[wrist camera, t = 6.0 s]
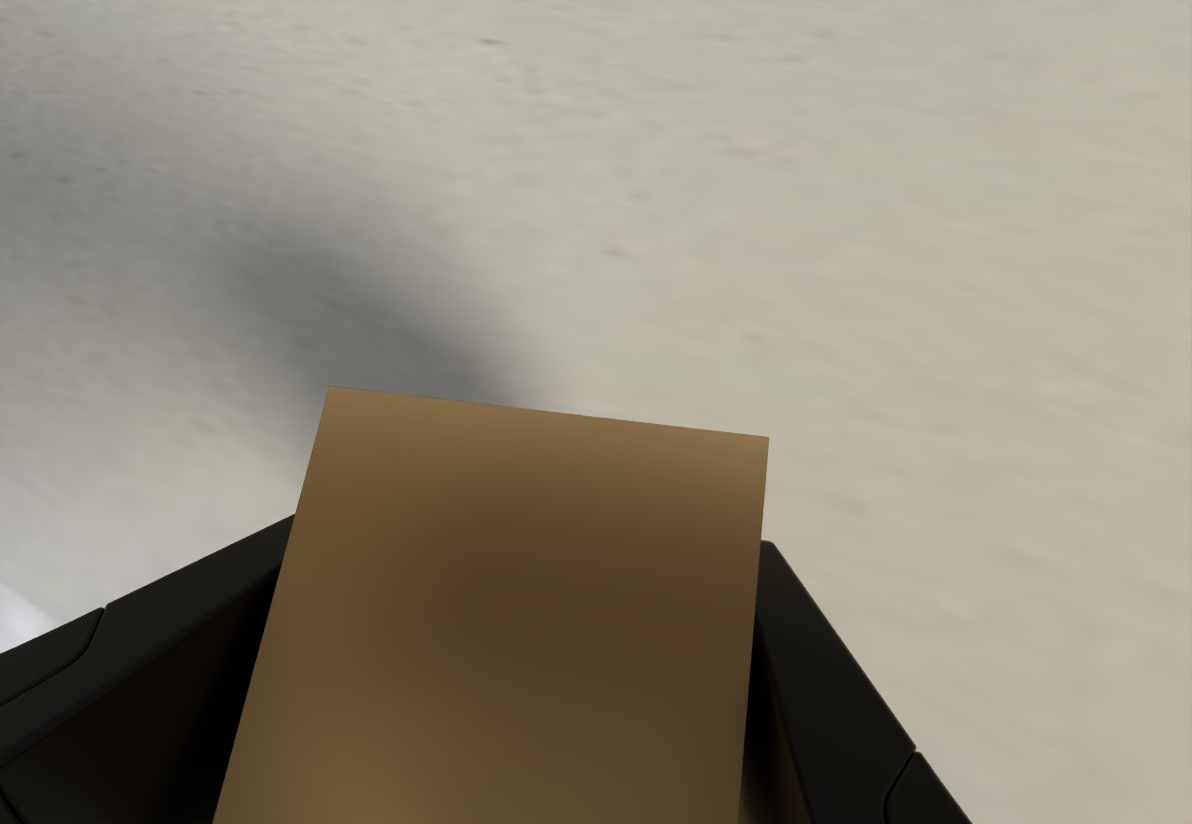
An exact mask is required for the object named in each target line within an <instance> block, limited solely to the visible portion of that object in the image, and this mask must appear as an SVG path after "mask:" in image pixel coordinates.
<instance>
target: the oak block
mask: <svg viewBox="0 0 1192 824" xmlns="http://www.w3.org/2000/svg"><path fill="white" fill-rule="evenodd" d="M768 446H769V437H763V436H755V435H746V434H738V433H729V432H720V431H712V430H703V429H695V428H686V427H677V426H669V425H660V424H651V423H643V422H634V421H626V420H617V419H608V418H600V417H591V416H583V415H574V414H565V413H557V412H548V411H540V410H531V409H522V408H514V407H505V406H496V405H488V404H479V403H471V402H462V401H453V400H445V399H436V398H428V397H419V396H410V395H402V394H393V393H385V392H376V391H367V390H359V389H350V388H342V387H333V386H329V390H328V394H327V397H326V401H325V405H324V409H323V412H322V416H321V420H320V424H319V427H318V431H317V435H316V439H315V442H314V446H313V450H312V454H311V457H310V461H309V465H308V468H307V472H306V476H305V480H304V483H303V487H302V491H301V495H300V498H299V502H298V506H297V510H296V513H295V517H294V521H293V525H292V528H291V532H290V536H289V540H288V543H287V547H286V551H285V554H284V558H283V562H282V566H281V569H280V573H279V577H278V581H277V584H276V588H275V592H274V596H273V599H272V603H271V607H270V611H269V614H268V618H267V622H266V626H265V629H264V633H263V637H262V640H261V644H260V648H259V652H258V655H257V659H256V663H255V667H254V670H253V674H252V678H251V682H250V685H249V689H248V693H247V697H246V700H245V704H244V708H243V712H242V715H241V719H240V723H239V726H238V730H237V734H236V738H235V741H234V745H233V749H232V753H231V756H230V760H229V764H228V768H227V771H226V775H225V779H224V783H223V786H222V790H221V794H220V798H219V801H218V805H217V809H216V812H215V816H214V820H213V824H737V823H738V811H739V799H740V787H741V774H742V762H743V750H744V738H745V726H746V714H747V702H748V689H749V677H750V665H751V653H752V641H753V628H754V616H755V604H756V592H757V580H758V568H759V555H760V543H761V531H762V519H763V507H764V495H765V482H766V470H767V458H768Z"/></svg>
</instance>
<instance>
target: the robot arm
mask: <svg viewBox="0 0 1192 824" xmlns="http://www.w3.org/2000/svg"><path fill="white" fill-rule="evenodd" d="M294 517H295V514H293V515H291V516H289V517H287V518H285V519H283V520H281V521H279V522H277V523H275V524H273V525H270V526H268V527H266V528H264V529H262V530H260V531H258V532H256V533H254V534H252V535H250V536H248V537H245V538H243V539H241V540H239V541H237V542H235V543H233V544H231V545H229V546H227V547H225V548H223V549H221V550H218V551H216V552H214V553H212V554H210V555H208V556H206V557H204V558H202V559H200V560H198V561H196V562H193V563H191V564H189V565H187V566H185V567H183V568H181V569H179V570H177V571H175V572H173V573H171V574H169V575H166V576H164V577H162V578H160V579H158V580H156V581H154V582H152V583H150V584H148V585H146V586H144V587H141V588H139V589H137V590H135V591H133V592H131V593H129V594H127V595H125V596H123V597H121V598H119V599H117V600H114V601H112V602H110V603H108V604H107V605H106V607H105V609H104V608H102V607H100V608H97V609H95V610H93V611H91V612H89V613H87V614H85V615H83V616H81V617H79V618H77V619H75V620H73V621H71V622H69V623H67V624H64V625H62V626H60V627H58V628H56V629H54V630H51V631H49V632H47V633H45V634H43V635H41V636H39V637H36V638H34V639H32V640H30V641H28V642H26V643H23V644H21V645H19V646H17V647H15V648H12V649H10V650H8V651H5V652H3V653H1V654H0V824H213V820H214V816H215V812H216V809H217V805H218V801H219V798H220V794H221V790H222V786H223V783H224V779H225V775H226V771H227V768H228V764H229V760H230V756H231V753H232V749H233V745H234V741H235V738H236V734H237V730H238V726H239V723H240V719H241V715H242V712H243V708H244V704H245V700H246V697H247V693H248V689H249V685H250V682H251V678H252V674H253V670H254V667H255V663H256V659H257V655H258V652H259V648H260V644H261V640H262V637H263V633H264V629H265V626H266V622H267V618H268V614H269V611H270V607H271V603H272V599H273V596H274V592H275V588H276V584H277V581H278V577H279V573H280V569H281V566H282V562H283V558H284V554H285V551H286V547H287V543H288V540H289V536H290V532H291V528H292V525H293V521H294ZM915 751H916V745H915V744H914V742H913V741H912V739H911V738H910V737H909V735H908V734H907V732H906V731H905V730H904V728H903V727H902V725H901V724H900V722H899V721H898V720H897V718H896V717H895V715H894V714H893V712H892V711H891V710H890V708H889V707H888V705H887V704H886V702H885V701H884V700H883V698H882V697H881V695H880V694H879V692H878V691H877V690H876V688H875V687H874V685H873V684H872V682H871V681H870V680H869V678H868V677H867V675H866V674H865V673H864V671H863V670H862V668H861V667H860V665H859V664H858V663H857V661H856V660H855V658H854V657H853V655H852V654H851V653H850V651H849V650H848V648H847V647H846V645H845V644H844V643H843V641H842V640H841V638H840V637H839V635H838V634H837V633H836V631H835V630H834V628H833V627H832V625H831V624H830V623H829V621H828V620H827V618H826V617H825V616H824V614H823V613H822V611H821V610H820V608H819V607H818V606H817V604H816V603H815V601H814V600H813V598H812V597H811V596H810V594H809V593H808V591H807V590H806V588H805V587H804V586H803V584H802V583H801V581H800V580H799V578H798V577H797V576H796V574H795V573H794V571H793V570H792V568H791V567H790V566H789V564H788V563H787V561H786V560H785V559H784V557H783V556H782V554H781V553H780V551H779V550H778V549H777V547H776V546H775V544H773V543H772V542H770V541H766V540H761V543H760V555H759V568H758V580H757V592H756V604H755V616H754V628H753V641H752V653H751V665H750V677H749V689H748V702H747V714H746V726H745V738H744V750H743V762H742V774H741V787H740V799H739V811H738V823H737V824H972V822H971V821H970V820H969V818H968V817H967V816H966V814H965V813H964V812H963V810H962V809H961V808H960V806H959V805H958V804H957V802H956V801H955V799H954V798H953V797H952V795H951V794H950V793H949V791H948V790H947V789H946V787H945V786H944V785H943V783H942V782H941V780H940V779H939V778H938V776H937V775H936V773H935V772H934V770H933V769H932V768H931V766H930V765H929V763H928V762H927V760H926V759H925V758H924V756H923V755H922V753H920V752H915Z"/></svg>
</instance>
